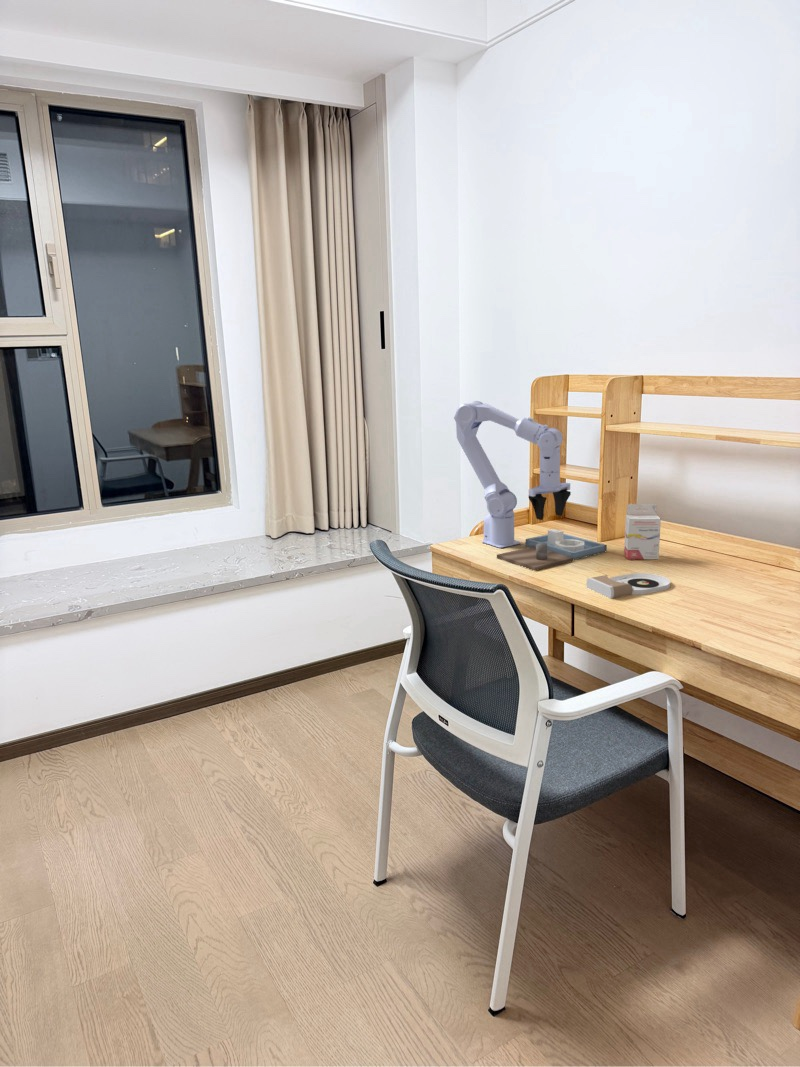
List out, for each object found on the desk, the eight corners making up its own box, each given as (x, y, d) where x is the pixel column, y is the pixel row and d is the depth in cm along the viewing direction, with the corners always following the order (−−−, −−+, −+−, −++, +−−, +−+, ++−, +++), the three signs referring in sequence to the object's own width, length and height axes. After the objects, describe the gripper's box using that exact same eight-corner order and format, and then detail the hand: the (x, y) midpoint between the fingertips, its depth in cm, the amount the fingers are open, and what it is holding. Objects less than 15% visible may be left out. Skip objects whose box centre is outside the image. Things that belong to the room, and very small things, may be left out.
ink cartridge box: (627, 560, 206) (629, 507, 202) (623, 555, 210) (625, 504, 207) (659, 559, 205) (661, 507, 201) (655, 554, 209) (657, 503, 206)
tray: (525, 545, 224) (525, 539, 224) (557, 538, 231) (557, 532, 230) (573, 560, 208) (573, 553, 207) (606, 551, 214) (606, 545, 214)
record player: (583, 576, 185) (647, 564, 192) (583, 588, 185) (647, 576, 193) (614, 589, 174) (681, 576, 182) (614, 601, 175) (680, 589, 182)
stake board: (496, 558, 213) (496, 541, 212) (534, 549, 220) (534, 533, 219) (534, 570, 200) (534, 552, 198) (573, 561, 206) (573, 543, 205)
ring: (540, 544, 222) (540, 531, 221) (561, 540, 226) (561, 527, 225) (569, 553, 212) (569, 539, 211) (590, 548, 216) (590, 534, 215)
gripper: (540, 476, 208) (540, 523, 211) (578, 469, 215) (577, 515, 219) (523, 473, 214) (523, 519, 217) (560, 466, 221) (560, 511, 224)
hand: (549, 517), depth 218 cm, fingers open, 7 cm apart
